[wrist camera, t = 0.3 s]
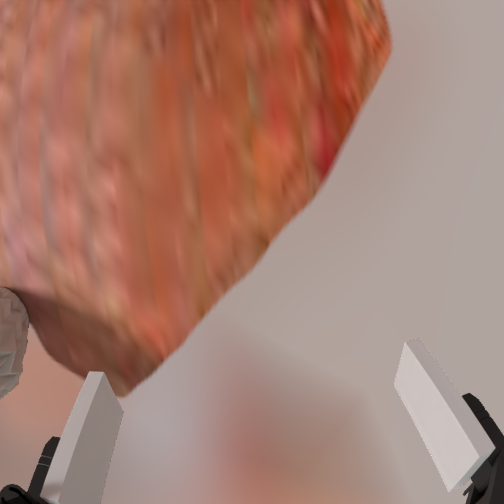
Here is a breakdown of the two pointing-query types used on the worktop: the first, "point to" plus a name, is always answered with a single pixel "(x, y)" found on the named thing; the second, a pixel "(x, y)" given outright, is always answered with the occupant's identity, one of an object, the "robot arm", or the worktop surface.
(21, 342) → the vase
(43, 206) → the worktop surface
